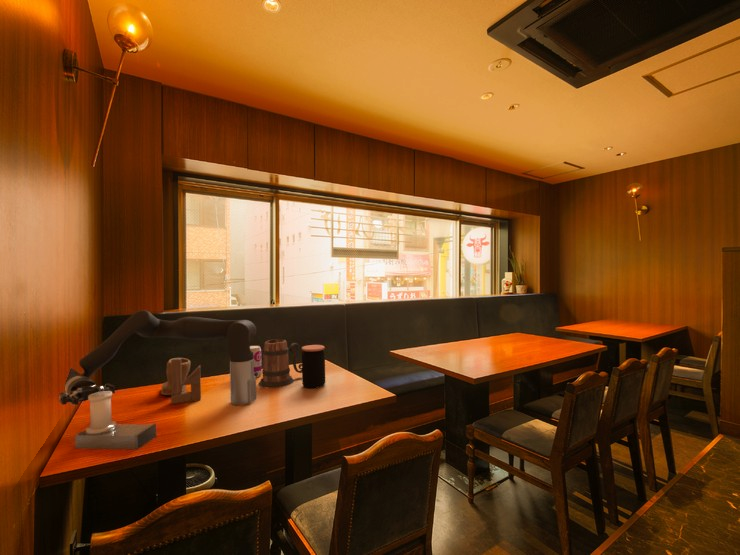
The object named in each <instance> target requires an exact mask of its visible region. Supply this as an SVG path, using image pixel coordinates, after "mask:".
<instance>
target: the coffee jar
mask: <svg viewBox="0 0 740 555" xmlns="http://www.w3.org/2000/svg"><path fill="white" fill-rule="evenodd" d="M325 348H326V347H325V346H324V345H322V344H311V345H310V344H309V345H304V346H301V351H302V352H301V364H302V366H301V368H302V373H301V377H302V379H301V380H302V381H301V382H302V383H301V384H302V386H303V387H304V388H305V389H308V390H309V389H311V390H313V389H319V388H322V387H324V386H325V384H326V355H325V354H326V351H325Z"/></svg>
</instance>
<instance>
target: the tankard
mask: <svg viewBox="0 0 740 555" xmlns="http://www.w3.org/2000/svg"><path fill="white" fill-rule="evenodd" d="M295 346H296V347H295ZM295 348H296V349H295ZM294 350H295V351H294ZM289 352H290V353H292V354H293V356H292V366H293V369H294V371H295V372H296V373H299V374H302V363H299V364H298V367H297V356H298V354H299V352H300V345H299V343H297V342H293V343H291V344H290V345H289V347H288V342H287V339H269V340H267V341H265V342H264V345H263V349H262V354H263V355H262V356H263V357H262V358H263V360H262V374H261V375H262V377H261V379H260V381H259V382H258V386H259V387H261V386H262V387H261V388H265V387H268V388H269V389H274V388H275V389H276V387H277V388H282V387H283V386H284V387H287V386H291V385H292V384H293V383H294V382H295V380H294V378H293V377H292V375H290V374H291V368H290V360H289ZM284 387H283V388H284ZM268 388H267V389H268Z"/></svg>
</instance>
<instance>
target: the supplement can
mask: <svg viewBox="0 0 740 555" xmlns="http://www.w3.org/2000/svg"><path fill="white" fill-rule="evenodd" d="M261 348H262V347H261V346H260V345H250V350H251V351H252V352H253V354H254V376H256V378H259V377H261V375H263V374H262V370H263V367H262V349H261Z"/></svg>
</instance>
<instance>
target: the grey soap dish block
mask: <svg viewBox="0 0 740 555" xmlns="http://www.w3.org/2000/svg"><path fill="white" fill-rule="evenodd" d="M153 438H154V439H155V438H157V423H156V422H153V423H151V424H125V423H124V424H121V423H120V424H117V422H116V420H115V421H114V420H111V425H110V426H108V427H105V428H102V429H91V425H89V426H87V427H86V428H85V430H83V431H81V432H78V433H77V434H75V435H74V449H84V450H85V449H94V450H95V449H98V450H99V449H101V450H139V449H141V448H142V447H144V446H145V445H147V444H148V443H150V442H151V441H152V440H154V439H153ZM150 440H151V441H150Z"/></svg>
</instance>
